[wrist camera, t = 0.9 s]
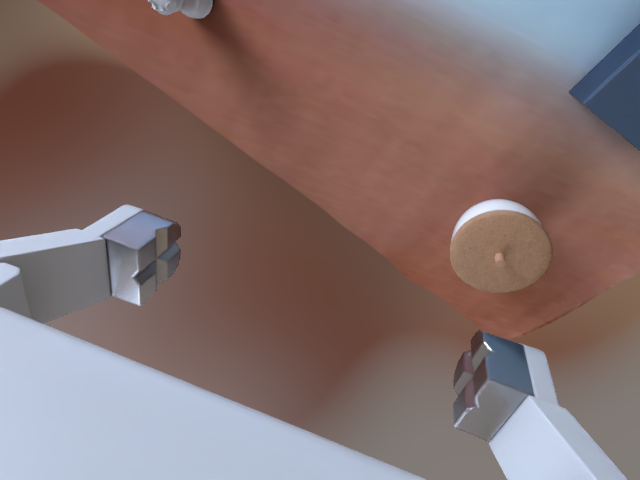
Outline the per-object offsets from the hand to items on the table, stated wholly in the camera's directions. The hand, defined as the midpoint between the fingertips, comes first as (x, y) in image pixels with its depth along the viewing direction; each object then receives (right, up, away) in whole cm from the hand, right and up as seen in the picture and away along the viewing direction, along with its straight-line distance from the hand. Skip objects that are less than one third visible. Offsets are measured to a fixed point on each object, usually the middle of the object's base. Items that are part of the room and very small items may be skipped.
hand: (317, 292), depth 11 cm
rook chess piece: (-15, +31, +38) cm, 51 cm away
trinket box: (+23, +3, +42) cm, 48 cm away
